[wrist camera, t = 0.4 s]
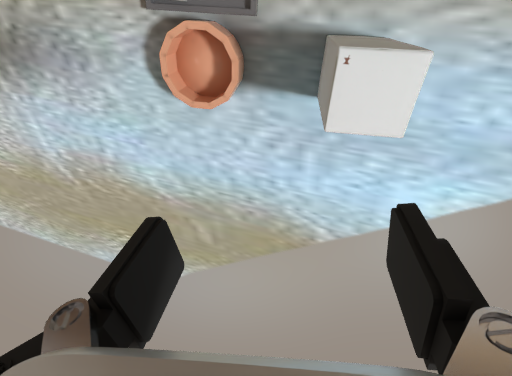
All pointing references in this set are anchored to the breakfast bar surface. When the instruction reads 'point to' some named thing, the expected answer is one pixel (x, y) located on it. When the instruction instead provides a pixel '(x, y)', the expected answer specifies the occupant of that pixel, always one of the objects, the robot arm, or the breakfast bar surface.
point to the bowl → (201, 63)
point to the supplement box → (370, 84)
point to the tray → (207, 6)
